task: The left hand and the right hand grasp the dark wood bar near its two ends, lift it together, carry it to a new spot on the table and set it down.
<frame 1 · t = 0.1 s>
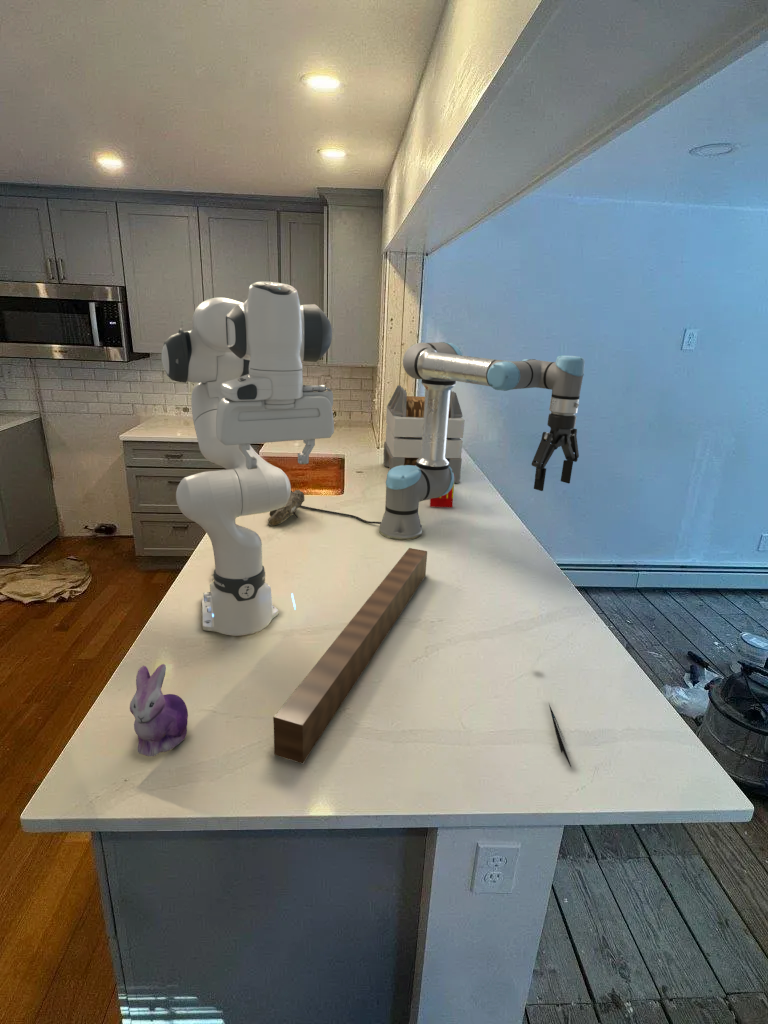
left hand: (278, 465, 100), 48 cm above the counter, tool pointing down, fingers open, 8 cm apart
right hand: (552, 486, 166), 28 cm above the counter, tool pointing down, fingers open, 13 cm apart
transformer: (419, 473, 275), on the counter
bar: (369, 642, 134), on the counter
figurine: (163, 740, 102), on the counter
feather: (551, 716, 112), on the counter
toy: (436, 497, 241), on the counter
fossil: (287, 517, 210), on the counter
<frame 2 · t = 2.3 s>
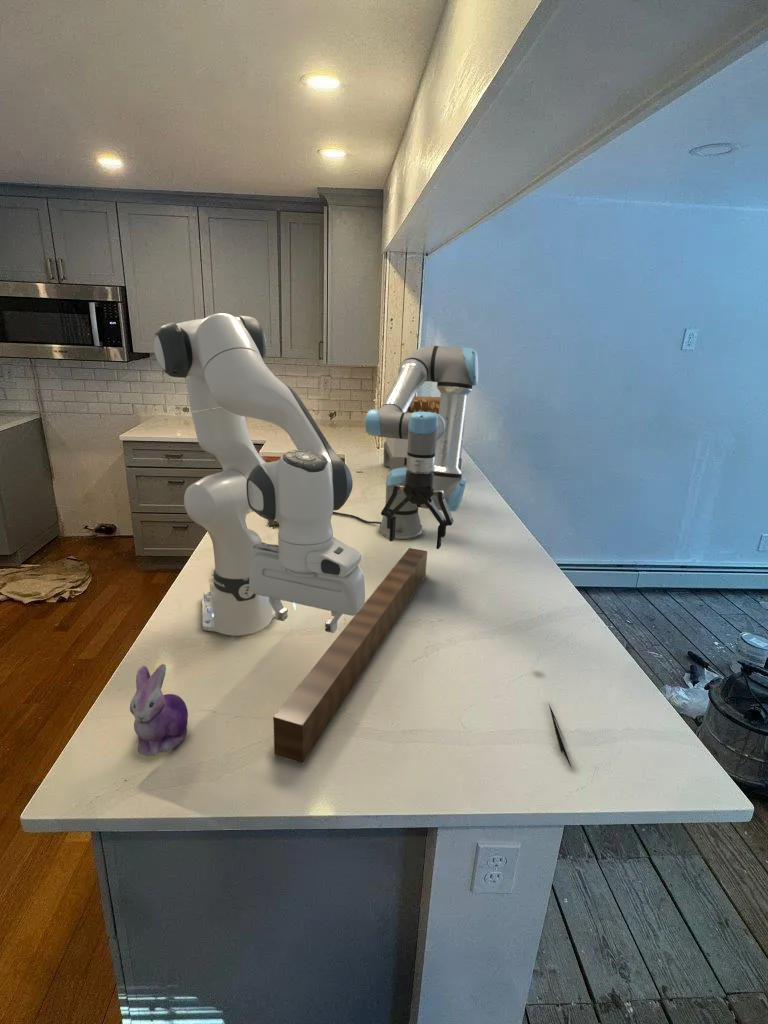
left hand: (306, 624, 97), 23 cm above the counter, tool pointing down, fingers open, 8 cm apart
right hand: (415, 543, 160), 13 cm above the counter, tool pointing down, fingers open, 13 cm apart
nothing on the counter moved.
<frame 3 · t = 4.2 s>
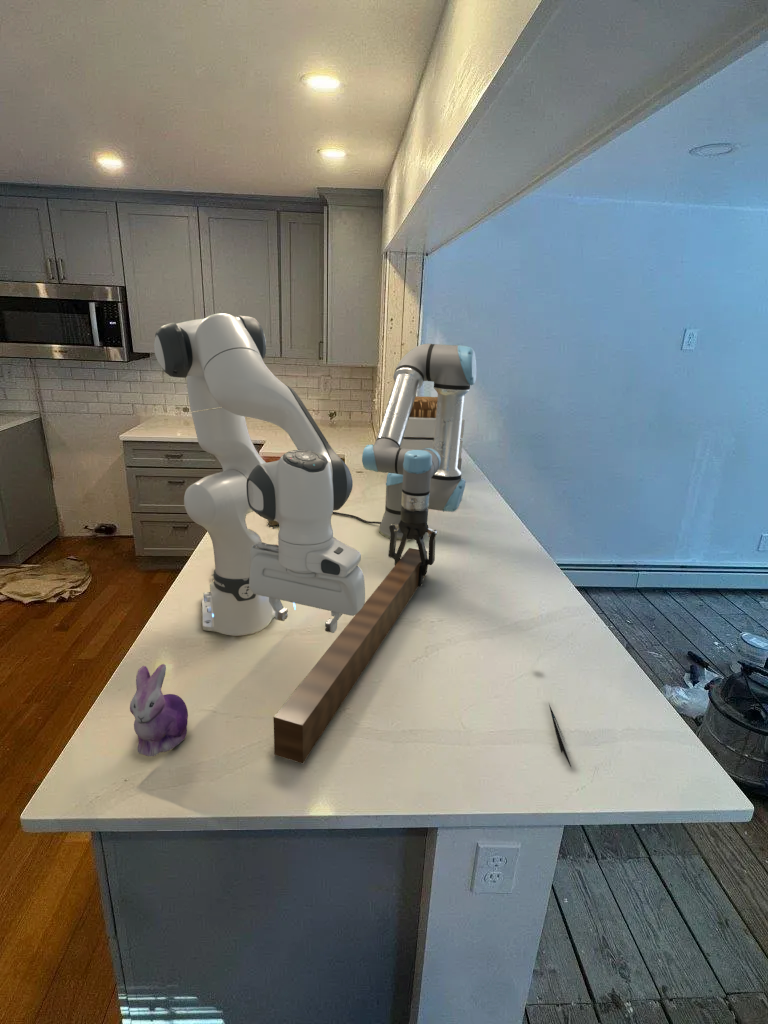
left hand: (306, 624, 97), 23 cm above the counter, tool pointing down, fingers open, 8 cm apart
right hand: (409, 582, 164), 1 cm above the counter, tool pointing down, fingers closed on bar, 6 cm apart
bar: (369, 642, 134), on the counter, touching right hand
everything else where it was.
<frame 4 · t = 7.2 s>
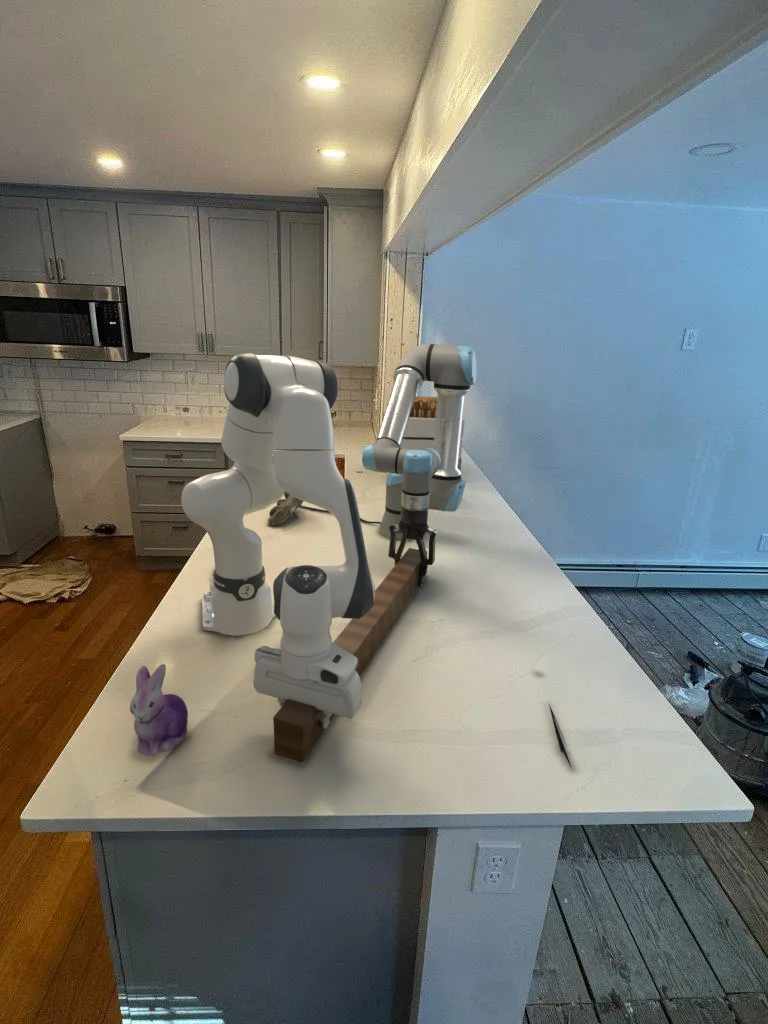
left hand: (306, 720, 104), 3 cm above the counter, tool pointing down, fingers closed on bar, 5 cm apart
right hand: (409, 582, 164), 1 cm above the counter, tool pointing down, fingers closed on bar, 6 cm apart
bar: (369, 642, 134), on the counter, touching right hand, left hand
everything else where it was.
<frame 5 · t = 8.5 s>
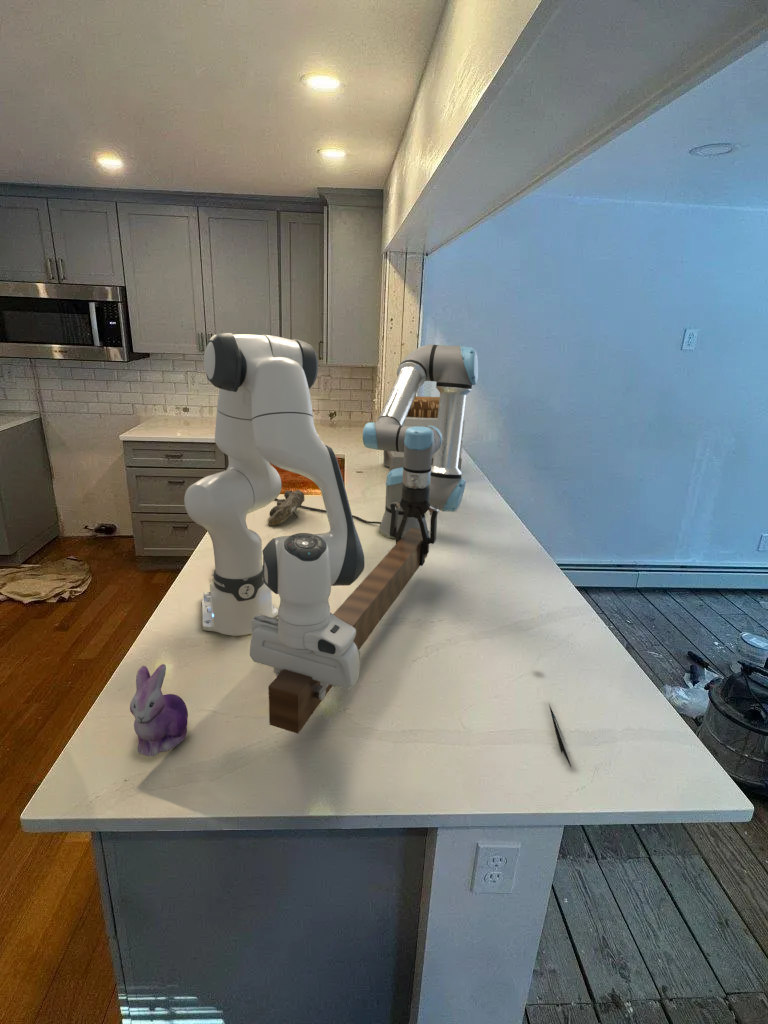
left hand: (302, 691, 103), 9 cm above the counter, tool pointing down, fingers closed on bar, 5 cm apart
right hand: (411, 561, 162), 7 cm above the counter, tool pointing down, fingers closed on bar, 6 cm apart
bar: (368, 618, 133), point 6 cm above the counter, touching right hand, left hand
everything else where it was.
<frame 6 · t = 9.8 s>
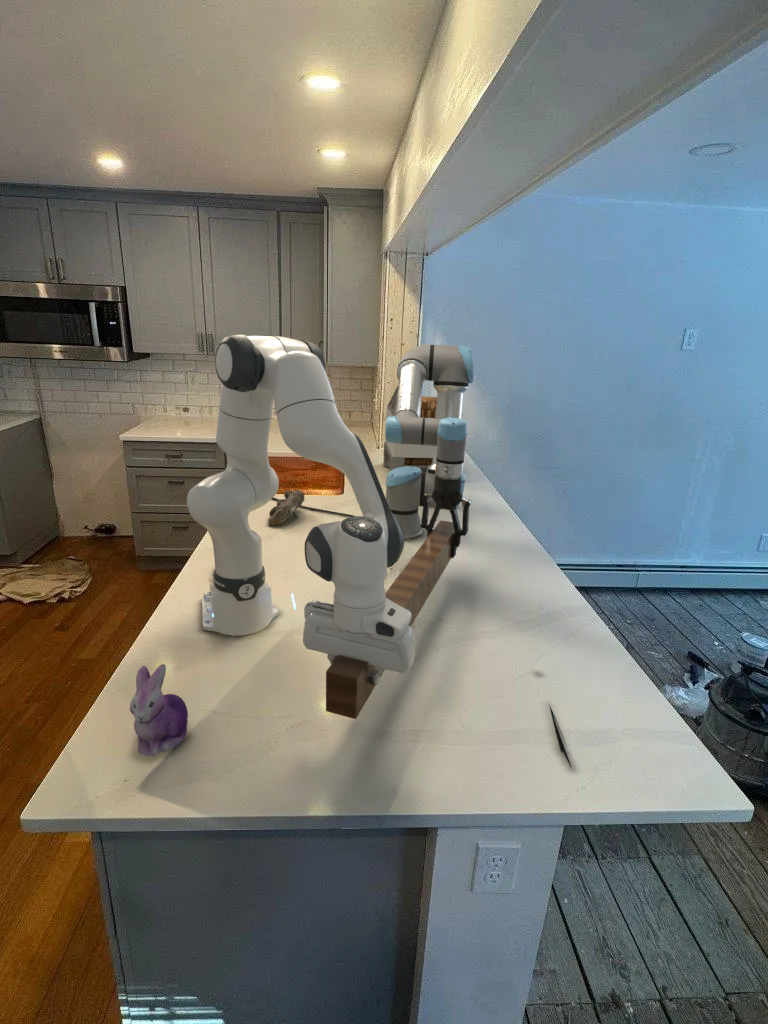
left hand: (356, 678, 102), 12 cm above the counter, tool pointing down, fingers closed on bar, 5 cm apart
right hand: (442, 554, 162), 9 cm above the counter, tool pointing down, fingers closed on bar, 6 cm apart
bar: (408, 608, 132), point 9 cm above the counter, touching right hand, left hand
everything else where it was.
when the left hand's fingers open (4 cm above the counter, at t = 12.6 s): bar drops 1 cm, on the counter.
when the right hand's fingers open (2 cm above the counter, at t = 12.6 s): bar drops 1 cm, on the counter.
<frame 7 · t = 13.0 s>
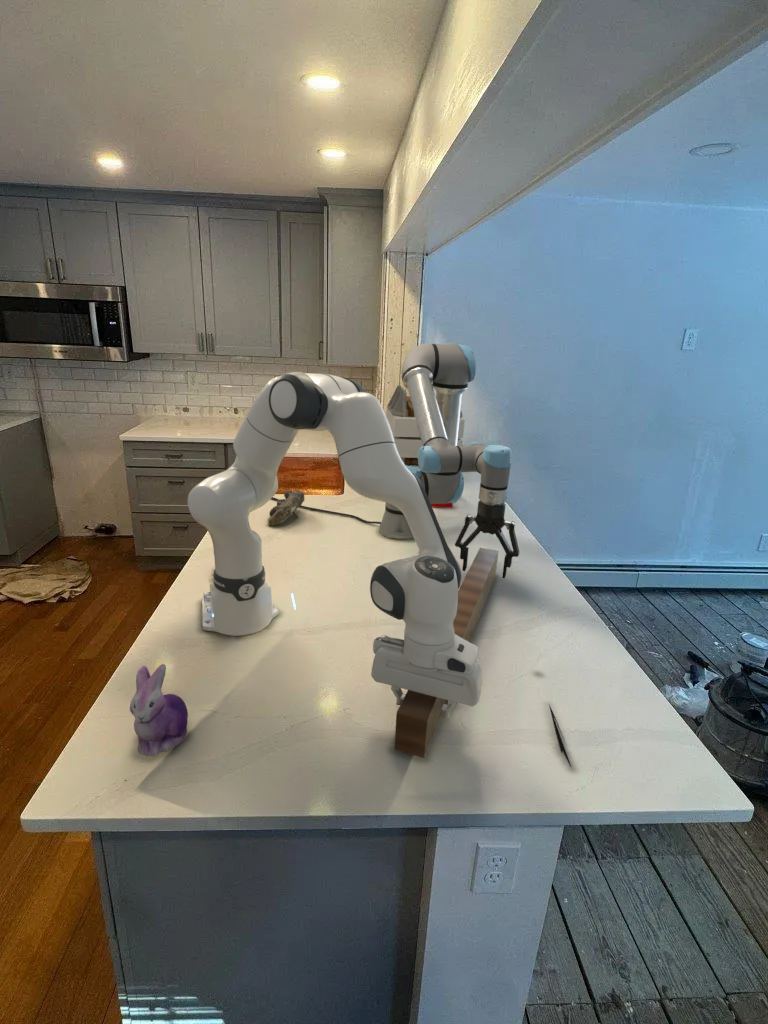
left hand: (423, 709, 106), 5 cm above the counter, tool pointing down, fingers open, 7 cm apart
right hand: (484, 573, 165), 3 cm above the counter, tool pointing down, fingers open, 11 cm apart
bar: (457, 640, 137), on the counter
everything else where it was.
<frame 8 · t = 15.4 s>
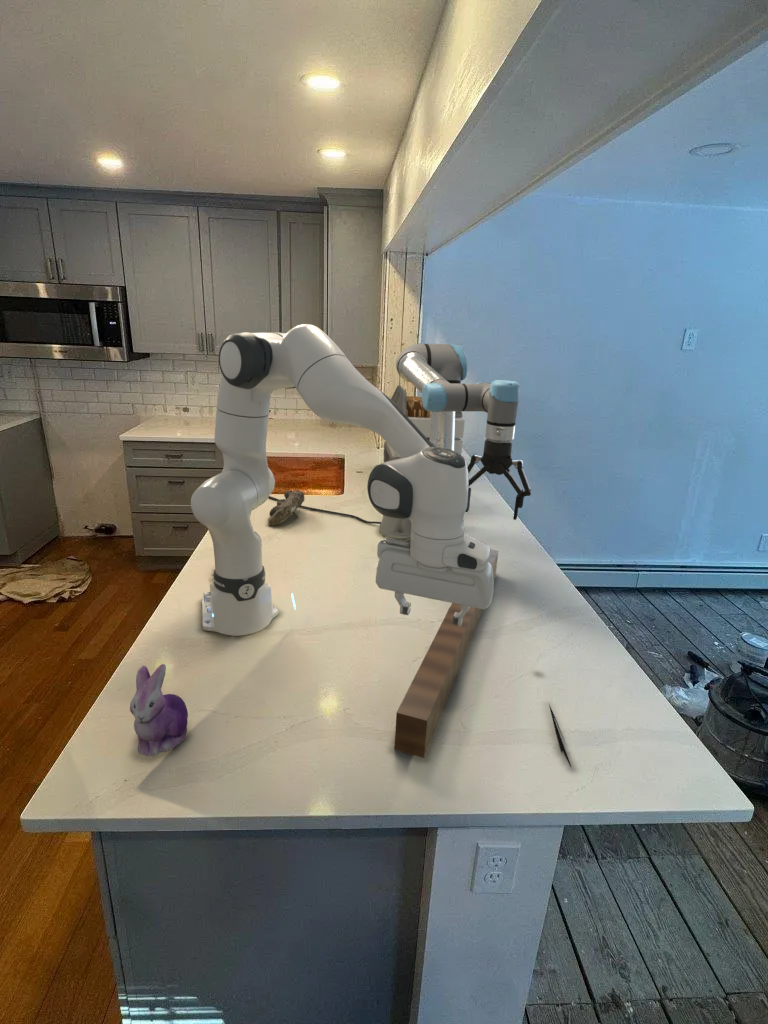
left hand: (430, 618, 99), 24 cm above the counter, tool pointing down, fingers open, 8 cm apart
right hand: (490, 514, 159), 22 cm above the counter, tool pointing down, fingers open, 13 cm apart
nothing on the counter moved.
at the end: bar inside the target area (0.3 cm from its centre), on the counter; bar tilted 0°; bar never tilted more than 2° during the clip; both hands held the bar at the same time; the left hand is holding nothing; the right hand is holding nothing; bar at rest at the end (0.0 cm/s) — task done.
